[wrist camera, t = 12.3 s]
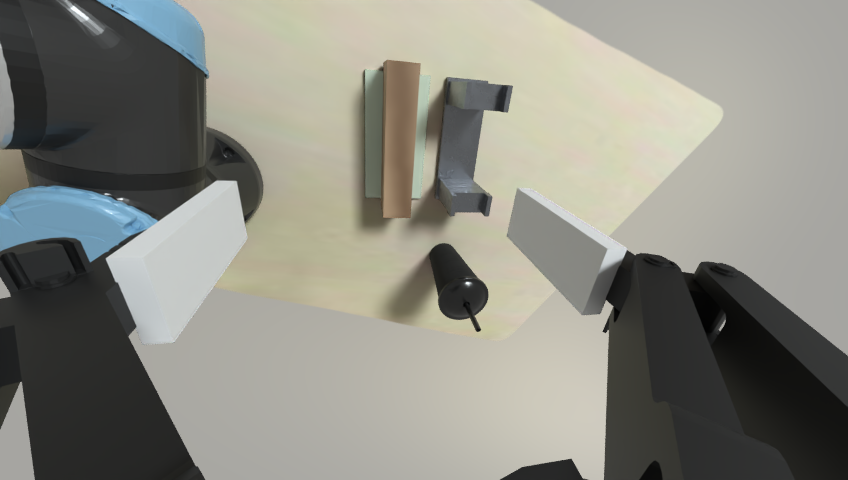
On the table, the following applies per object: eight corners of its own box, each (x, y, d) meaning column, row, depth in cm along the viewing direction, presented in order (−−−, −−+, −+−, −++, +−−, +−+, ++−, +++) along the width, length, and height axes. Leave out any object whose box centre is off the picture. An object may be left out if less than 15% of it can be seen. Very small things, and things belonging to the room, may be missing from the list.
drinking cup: (449, 228, 56) (491, 296, 38) (469, 257, 59) (515, 331, 42) (414, 251, 56) (439, 328, 39) (435, 278, 60) (467, 360, 43)
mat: (365, 196, 50) (365, 197, 50) (365, 69, 42) (365, 69, 42) (420, 197, 52) (420, 198, 51) (429, 75, 44) (430, 75, 43)
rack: (434, 197, 52) (449, 219, 44) (446, 77, 45) (466, 76, 36) (468, 197, 54) (488, 219, 45) (486, 81, 46) (514, 81, 37)
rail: (380, 203, 51) (383, 217, 45) (383, 62, 42) (387, 59, 36) (405, 203, 51) (410, 217, 46) (412, 65, 43) (420, 63, 37)
